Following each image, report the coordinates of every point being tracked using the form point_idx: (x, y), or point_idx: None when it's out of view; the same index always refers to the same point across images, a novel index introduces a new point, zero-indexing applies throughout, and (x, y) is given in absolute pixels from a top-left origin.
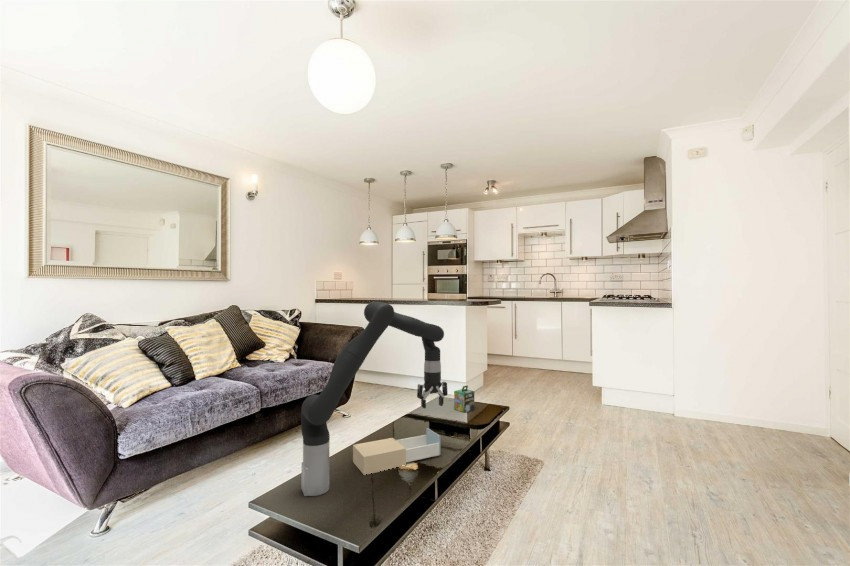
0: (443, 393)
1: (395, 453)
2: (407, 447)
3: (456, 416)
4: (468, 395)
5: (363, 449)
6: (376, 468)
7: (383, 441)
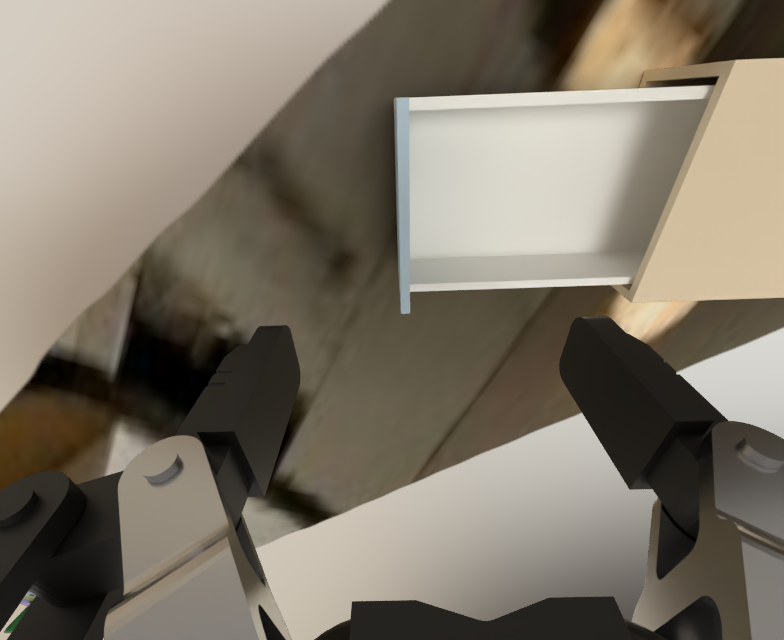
0: (102, 559)
1: None
2: (522, 258)
3: None
4: None
5: None
6: None
7: (720, 270)
